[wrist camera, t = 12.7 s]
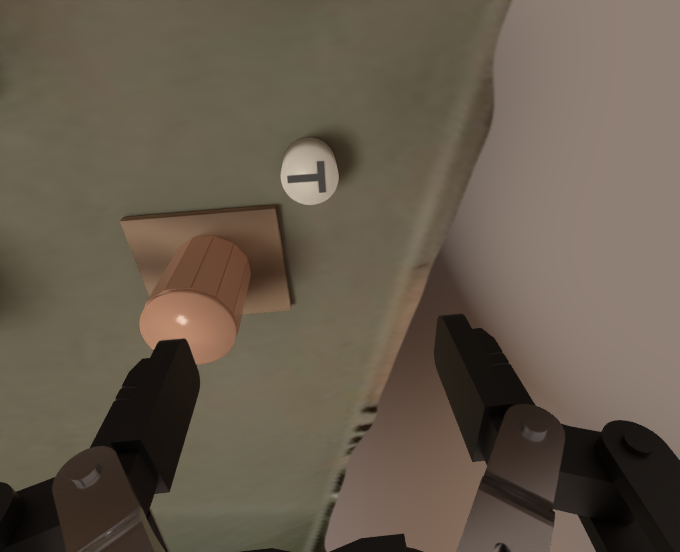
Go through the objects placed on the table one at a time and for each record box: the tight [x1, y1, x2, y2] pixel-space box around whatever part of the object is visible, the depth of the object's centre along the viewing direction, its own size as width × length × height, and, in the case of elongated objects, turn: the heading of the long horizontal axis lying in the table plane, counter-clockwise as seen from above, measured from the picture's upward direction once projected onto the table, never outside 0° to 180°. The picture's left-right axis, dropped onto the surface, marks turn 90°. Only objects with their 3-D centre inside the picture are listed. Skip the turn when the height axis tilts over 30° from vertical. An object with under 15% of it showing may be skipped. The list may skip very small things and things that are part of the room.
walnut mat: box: [120, 205, 291, 314], centre depth 33 cm, size 10×12×1 cm
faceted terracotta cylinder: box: [140, 236, 251, 364], centre depth 29 cm, size 6×6×8 cm
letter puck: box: [281, 137, 339, 205], centre depth 28 cm, size 4×4×3 cm
